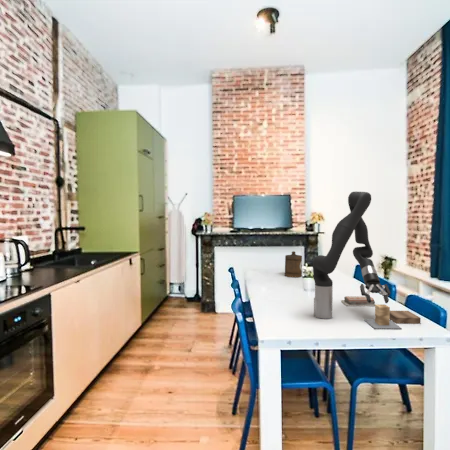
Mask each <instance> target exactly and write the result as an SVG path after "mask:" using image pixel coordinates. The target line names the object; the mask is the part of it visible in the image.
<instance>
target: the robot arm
mask: <svg viewBox="0 0 450 450" xmlns="http://www.w3.org/2000/svg"><path fill="white" fill-rule="evenodd" d="M347 202H348V208H349V211H350V212H349V213H348V214H347V215H345V216H344V217H343V218H342V219H341V220H340V221H338V222H337V224H336V226H335V228H334V229H333V232H332V235H331V246H330V248H329V251H328V252H327V254H325V255H321V254H320V255H316V256H315V257H314V259H313V262H312V273H313V274H312V275H313V277H312V278H313V281H314V297H313V315H314V317H315V318H317V319H319V318H320V319H324V320H325V319H326V320H327V319H332V318H333V288H334V287H333V280H332V279H331V278H330V276H329V274H331V273H333V272H334V271H335V270H336V268H337V265H338V262H339V261H340V259H341V256H342V253H343V251H344V249H345V248H346V246H347V243H348V241H349V240H350V238H351V236H352V234H353V233H354V239H355V240H354V241H355V243H357V244H359V245H363V246H355V247H354V248H353V250H352V254H353V255H352V256H353V257H354V258H355V260H356V262H357V263H358V264H359V266H360V270H361V275H362V279H363V281H364V283H360V286H359V289H360V294H361V297H366V299H367V301H368V302H369V303H371V298H370V297H371V295H370V293H372V294H379V295H381V296H382V297H383V300H384V303H385V304H388V302H389V301H390V298H389V296H390V295H391V290H390V289H389V286H388V284H383V285H382V284H381V281H380V277H379V276H378V273H377V270H376V267H375V265H374V262H373V260H372V259H371V258H372V256H373V255H374V253H373V249H372V247H371V244H370V241H369V231H368V226H367V224H366V222H365V220H364V219H363V216H364V214H365V213H366V211H367V210H368V208H369V207H370V205H371V202H372V194H371V193H370V192H367V191H352V192H350V193H349V195H348V197H347ZM365 289H367V292H366V290H365Z"/></svg>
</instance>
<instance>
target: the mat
mask: <svg viewBox="0 0 450 450" xmlns="http://www.w3.org/2000/svg"><path fill="white" fill-rule="evenodd" d="M364 322H365V323H366V324H368V325H369V326H370V327H371V328H372V329H373V330H402V327H401V326H399V325H398V324H396V323H395V322H394V321H392V320H391V319H390V321H389V325H378V324H377V323H376V322H375V318H374V319H373V318H372V319H369V318H367V319H365V318H364Z"/></svg>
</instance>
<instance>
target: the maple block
mask: <svg viewBox="0 0 450 450" xmlns="http://www.w3.org/2000/svg"><path fill="white" fill-rule="evenodd" d="M390 311H391V310H390V306H388V305H386V304H375V306H374V319H375V322H376V323H377V324H378V325H389V321H390V320H391V319H390Z"/></svg>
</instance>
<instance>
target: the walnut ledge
mask: <svg viewBox="0 0 450 450" xmlns="http://www.w3.org/2000/svg"><path fill="white" fill-rule="evenodd" d="M390 320H391V321H392V322H394V323H395V324H396V325H398V324H399V325H400V324H401V325H403V324H405V325H406V324H409V325H410V324H411V325H412V324H413V325H414V324H415V325H416V324H418V325H419V324H420V325H421V317H420V316H418V315H416V314H415V313H413V312H411V311H409V310H390Z"/></svg>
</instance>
